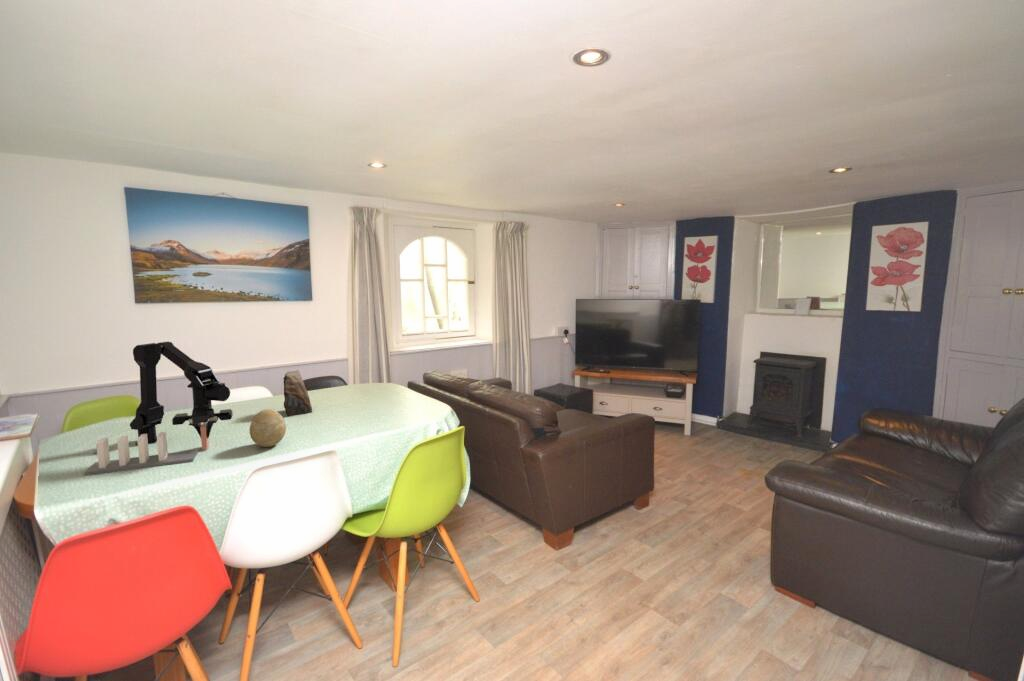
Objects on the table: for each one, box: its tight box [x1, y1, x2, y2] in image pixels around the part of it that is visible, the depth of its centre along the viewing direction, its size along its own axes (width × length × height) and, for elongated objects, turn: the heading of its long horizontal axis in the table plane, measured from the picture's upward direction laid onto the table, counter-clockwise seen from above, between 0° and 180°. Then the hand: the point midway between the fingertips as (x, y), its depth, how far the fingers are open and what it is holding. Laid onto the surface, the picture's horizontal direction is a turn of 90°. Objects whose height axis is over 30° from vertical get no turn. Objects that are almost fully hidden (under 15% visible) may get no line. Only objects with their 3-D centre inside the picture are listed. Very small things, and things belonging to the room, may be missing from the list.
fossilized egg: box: [249, 408, 287, 448], centre depth 180 cm, size 13×13×15 cm
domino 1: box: [95, 437, 111, 468], centre depth 157 cm, size 5×2×9 cm, turn 25°
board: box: [83, 450, 199, 476], centre depth 162 cm, size 9×30×1 cm, turn 115°
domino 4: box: [156, 431, 169, 461], centre depth 164 cm, size 5×2×9 cm, turn 25°
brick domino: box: [200, 422, 210, 451], centre depth 177 cm, size 5×2×9 cm, turn 25°
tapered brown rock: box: [283, 370, 313, 417], centre depth 225 cm, size 13×13×20 cm
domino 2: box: [116, 435, 131, 466], centre depth 159 cm, size 5×2×9 cm, turn 25°
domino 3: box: [136, 434, 150, 463], centre depth 162 cm, size 5×2×9 cm, turn 25°
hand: (205, 438), depth 177 cm, fingers closed on brick domino, 2 cm apart
